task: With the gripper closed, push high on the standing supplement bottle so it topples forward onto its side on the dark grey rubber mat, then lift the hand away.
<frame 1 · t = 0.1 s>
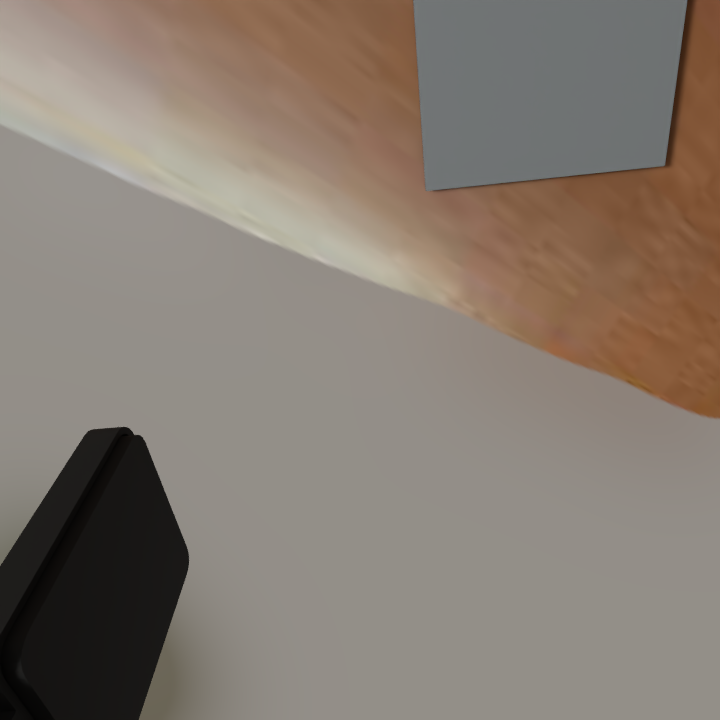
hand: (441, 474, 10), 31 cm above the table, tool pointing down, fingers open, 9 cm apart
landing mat: (546, 27, 34), on the table
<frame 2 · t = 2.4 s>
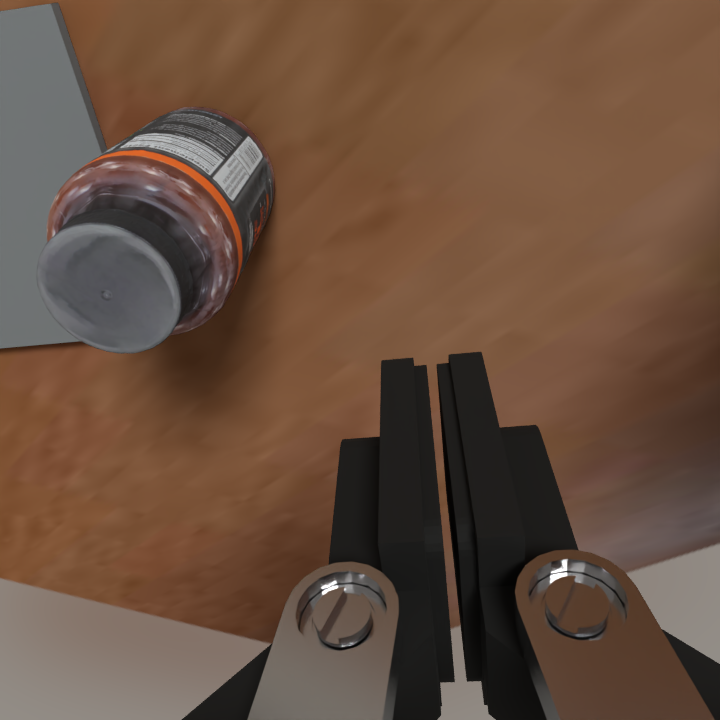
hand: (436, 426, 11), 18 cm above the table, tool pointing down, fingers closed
supplement bottle: (210, 175, 27), on the table
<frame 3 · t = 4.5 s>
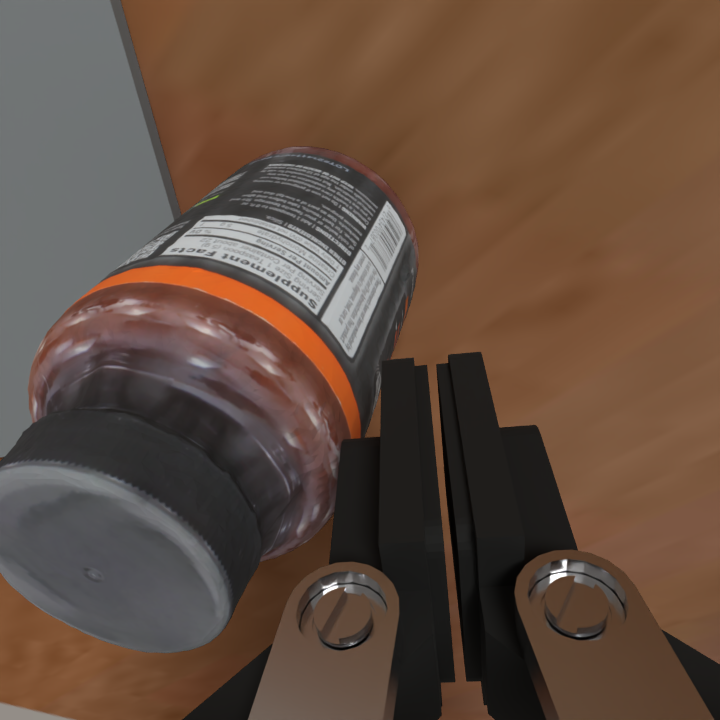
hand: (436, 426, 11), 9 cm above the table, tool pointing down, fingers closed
supplement bottle: (322, 242, 18), on the table
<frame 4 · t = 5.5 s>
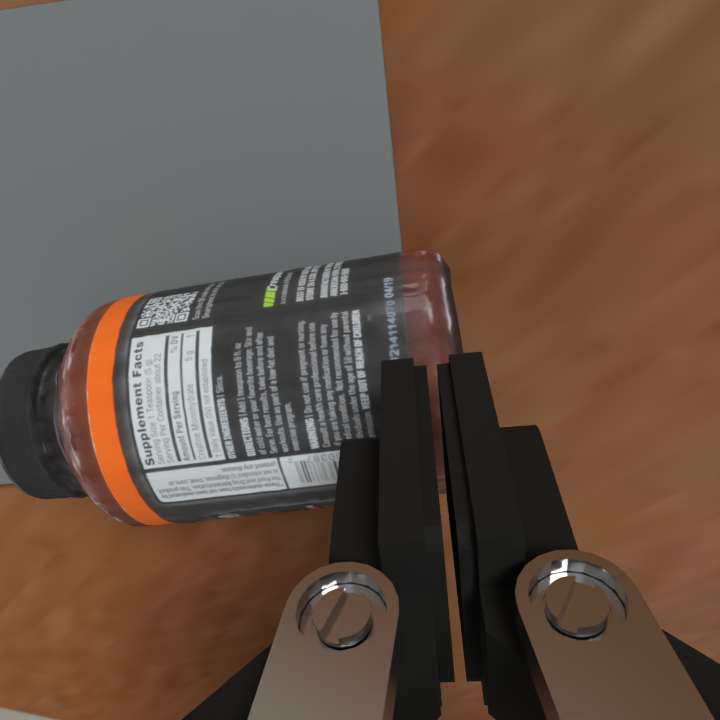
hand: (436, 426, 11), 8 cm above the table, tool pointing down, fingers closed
supplement bottle: (473, 366, 15), point 4 cm above the table, touching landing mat
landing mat: (128, 278, 18), on the table
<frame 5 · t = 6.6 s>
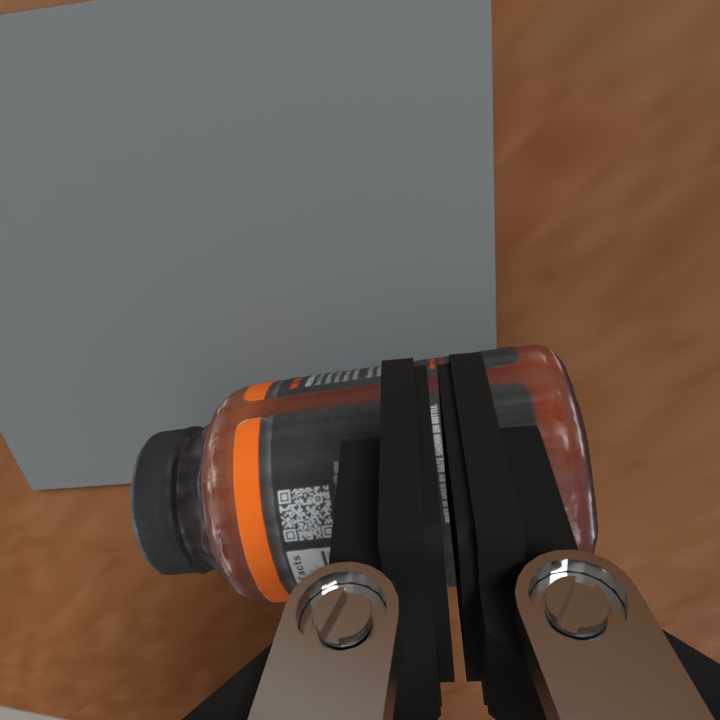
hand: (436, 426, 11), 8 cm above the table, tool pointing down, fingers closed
supplement bottle: (581, 454, 16), point 4 cm above the table, touching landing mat
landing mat: (207, 276, 18), on the table
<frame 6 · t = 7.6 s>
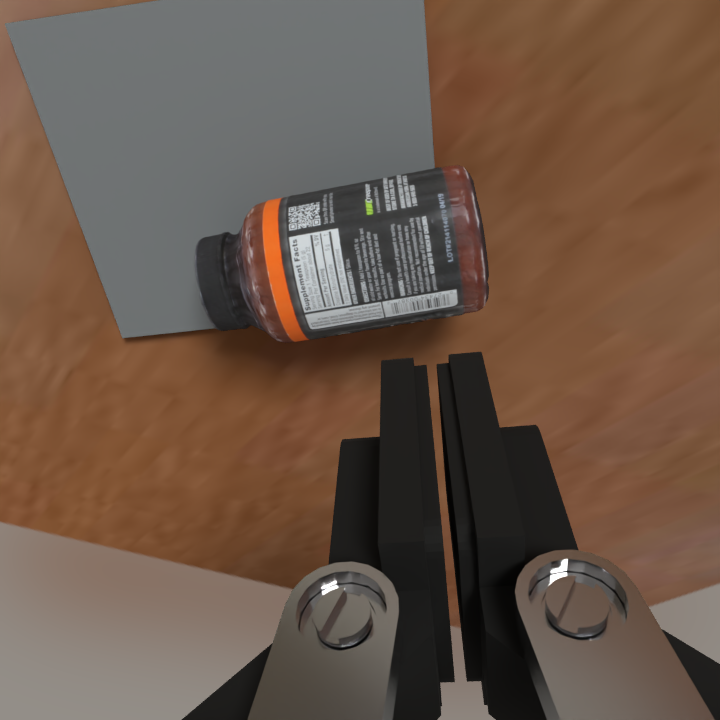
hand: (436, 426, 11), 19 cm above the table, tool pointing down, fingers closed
supplement bottle: (484, 237, 25), point 4 cm above the table, touching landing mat
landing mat: (250, 175, 28), on the table
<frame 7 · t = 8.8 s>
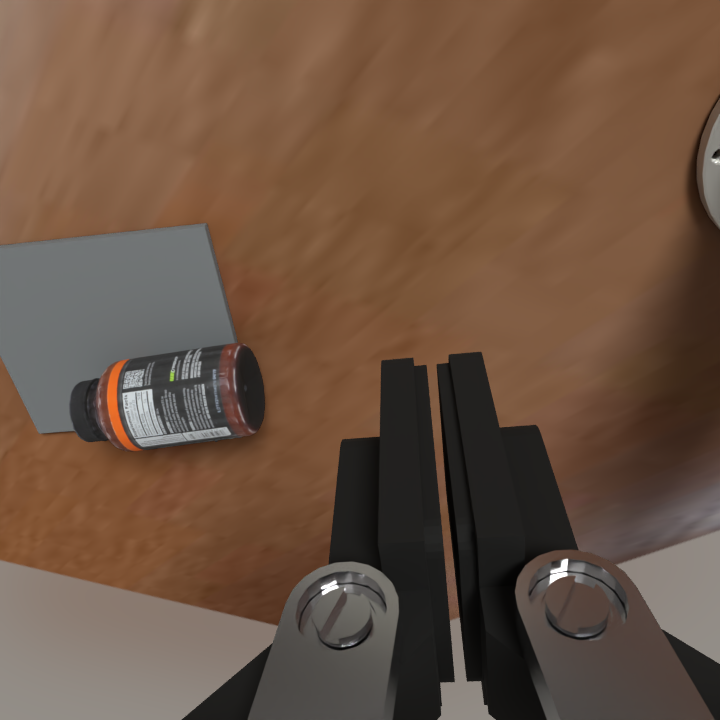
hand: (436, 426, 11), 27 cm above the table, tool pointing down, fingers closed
supplement bottle: (256, 387, 39), point 4 cm above the table, touching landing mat
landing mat: (116, 336, 42), on the table
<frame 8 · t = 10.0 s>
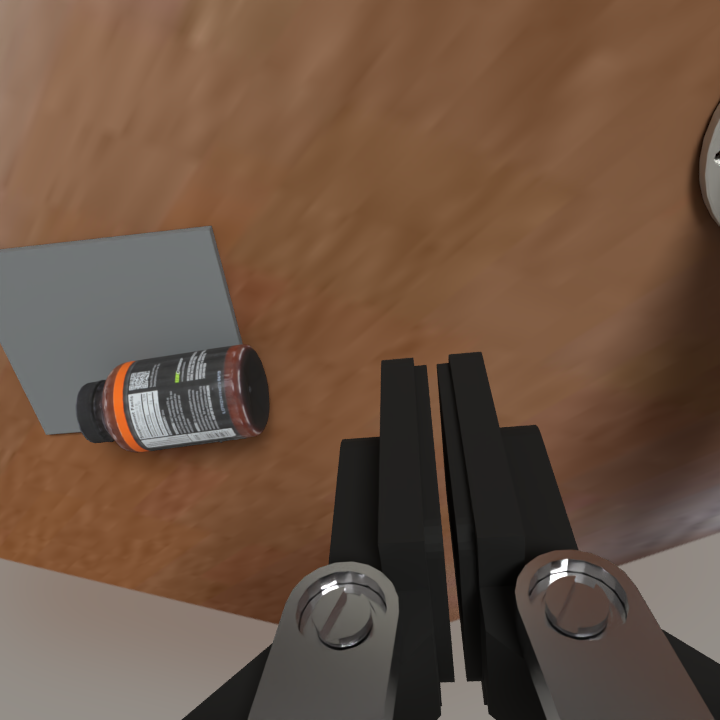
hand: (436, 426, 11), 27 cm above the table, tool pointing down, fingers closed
supplement bottle: (260, 388, 39), point 4 cm above the table, touching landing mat
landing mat: (122, 338, 42), on the table
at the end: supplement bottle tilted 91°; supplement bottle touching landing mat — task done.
